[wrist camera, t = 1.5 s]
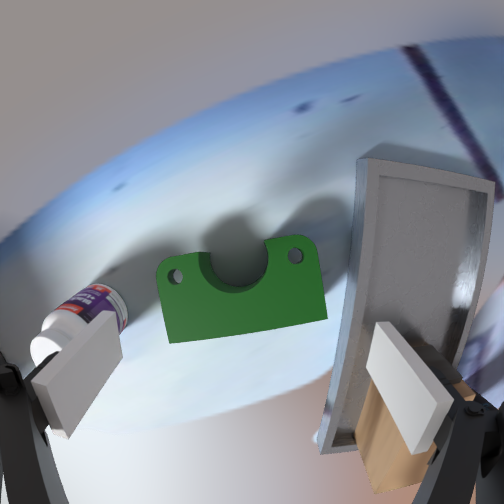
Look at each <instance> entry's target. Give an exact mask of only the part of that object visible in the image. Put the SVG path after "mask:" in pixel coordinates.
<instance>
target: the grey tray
mask: <svg viewBox="0 0 504 504" xmlns="http://www.w3.org/2000/svg"><path fill="white" fill-rule="evenodd" d="M494 194H495V182H493V181H489V180H485V179H481V178H477V177H473V176H469V175H464V174H460V173H455V172H450V171H445V170H440V169H435V168H430V167H424V166H419V165H413V164H407V163H401V162H394V161H388V160H381V159H373V158H363V159H357V169H356V190H355V206H354V219H353V231H352V242H351V252H350V261H349V270H348V278H347V286H346V293H345V300H344V307H343V314H342V320H341V327H340V333H339V339H338V344H337V350H336V355H335V361H334V366H333V371H332V376H331V381H330V386H329V391H328V395H327V399H326V404H325V408H324V412H323V417H322V421H321V425H320V429H319V433H318V437H317V443H318V447H319V451H320V455H321V454H332V453H341V452H349V451H356V450H359V449H358V447H357V444H356V441H355V438H354V436H353V435H354V433H355V430H356V427H357V424H358V421H359V418H360V415H361V412H362V409H363V406H364V402H365V399H366V396H367V392H368V389H369V386H370V382H371V379H372V378H371V376H370V374H369V372H368V370H367V368H366V365H367V361H368V356H369V352H370V348H371V343H372V339H373V334H374V330H375V325H376V322H388V321H389V322H390V323H391V324H392V325H393V326H394V327H395V329H396V330H397V331H398V332H399V333H400V334H401V336H402V337H403V338H404V339H405V340H406V341H407V343H408V344H409V345H410V346H411V347H414V346H423V345H433V347H434V348H435V349H436V350H437V351H438V352H439V353H440V354H441V355H442V356H443V357H444V358H445V359H446V360H447V361H448V362H449V363H450V364H451V365H452V366H453V367H454V368H455V369H456V370H457V367H458V364H459V362H460V359H461V356H462V353H463V350H464V347H465V344H466V341H467V338H468V335H469V331H470V328H471V325H472V321H473V318H474V314H475V310H476V306H477V303H478V298H479V294H480V290H481V285H482V281H483V276H484V271H485V265H486V260H487V254H488V248H489V242H490V235H491V226H492V218H493V207H494Z"/></svg>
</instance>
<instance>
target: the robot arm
mask: <svg viewBox="0 0 504 504" xmlns="http://www.w3.org/2000/svg"><path fill="white" fill-rule="evenodd" d="M122 358H123V355H122V350H121V344H120V338H119V332H118V325H117V318H116V312H113V311H105V310H103V311H102V312H100V313H99V314H98V315H97V316H96V317H95V318H94V319H93V320H92V321H91V322H90V323H89V324H88V325H87V326H86V327H85V328H84V329H83V330H81V331H80V332H79V333H78V334H77V335H76V336H75V337H74V338H73V339H72V340H71V341H70V342H69V343H68V344H67V345H66V346H65V347H64V348H63V349H62V350H61V351H60V352H59V351H56V352H54V353H52V354H50V355H48V356H47V357H46V358H45V359H44V360H43V361H42V363H40V364H39V365H38V366H37V368H35V369H34V370H33V371H32V372H31V373H30V374H29V375H28V376H27V377H26V378H25V379H24V380H23V379H22V376H21V373H20V371H19V368H18V367H17V366H16V365H14V364H7V363H6V361H5V360H4V358H3V356H2V354H1V353H0V503H1V489H2V478H3V474H4V481H5V486H6V492H7V497H8V502H9V504H69V502H68V500H67V497H66V495H65V492H64V489H63V486H62V483H61V480H60V477H59V474H58V471H57V468H56V464H55V461H54V458H53V454H52V451H51V447H50V443H49V439H48V436H47V433H46V432H45V429H46V427H47V426H48V425H50V428H51V430H52V432H53V434H55V435H57V436H60V437H63V438H66V439H69V438H70V436H71V435H72V433H73V432H74V430H75V429H76V427H77V425H78V424H79V422H80V421H81V419H82V418H83V416H84V415H85V413H86V411H87V410H88V408H89V407H90V405H91V404H92V402H93V401H94V399H95V398H96V396H97V395H98V393H99V392H100V390H101V389H102V387H103V386H104V384H105V383H106V381H107V380H108V378H109V377H110V375H111V374H112V372H113V371H114V369H115V368H116V367H117V365H118V364H119V362H120V361H121V359H122ZM366 368H367V370H368V372H369V374H370V376H371V378H372V379H373V381H374V383H375V385H376V387H377V389H378V391H379V392H380V394H381V396H382V398H383V400H384V402H385V404H386V406H387V408H388V410H389V412H390V413H391V415H392V417H393V419H394V421H395V423H396V425H397V427H398V429H399V431H400V433H401V435H402V437H403V439H404V441H405V443H406V445H407V447H408V449H409V451H410V453H411V455H414V454H418V453H422V452H426V451H428V449H429V448H430V446H431V444H432V442H433V441H434V443H435V444H436V446H437V448H436V450H435V451H434V453H433V455H432V456H431V458H430V460H429V461H428V463H427V465H429V466H428V469H427V471H426V474H425V476H424V478H423V481H422V483H421V485H420V488H419V490H418V492H417V494H416V496H415V498H414V500H413V503H412V504H470V500H471V497H472V493H473V489H474V485H475V481H476V504H504V402H503V403H502V404H501V406H500V408H499V410H488V411H486V409H485V408H484V406H483V405H481V404H480V403H478V402H475V401H465V399H464V398H463V397H462V396H461V395H460V393H459V392H458V391H457V390H456V388H455V387H454V386H453V385H452V384H451V383H450V381H449V380H448V379H446V377H445V375H444V374H443V373H442V372H441V371H440V370H438V369H437V368H435V367H434V366H427V365H426V364H425V363H424V362H423V360H422V359H421V358H420V357H419V356H418V354H417V353H416V352H415V351H414V350H413V349H412V347H411V346H410V345H409V344H408V343H407V341H406V340H405V339H404V338H403V337H402V336H401V334H400V333H399V332H398V331H397V330H396V329H395V327H394V326H393V325H392V324H391V323H390V322H389V321H388V322H376V325H375V330H374V334H373V339H372V343H371V348H370V352H369V356H368V361H367V365H366Z"/></svg>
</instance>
